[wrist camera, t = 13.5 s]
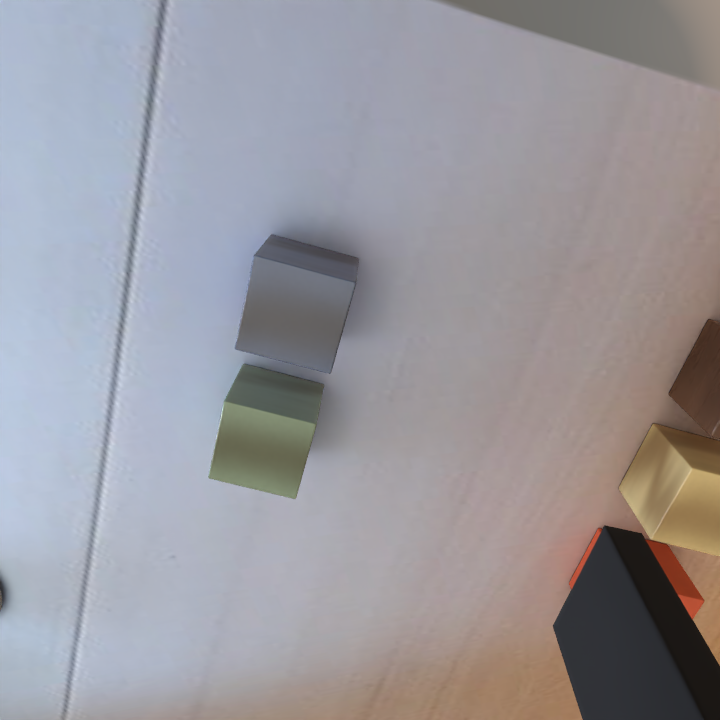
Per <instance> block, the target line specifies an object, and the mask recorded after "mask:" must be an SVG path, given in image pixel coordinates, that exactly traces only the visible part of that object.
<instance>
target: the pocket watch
mask: <svg viewBox="0 0 720 720" xmlns="http://www.w3.org/2000/svg"><path fill="white" fill-rule="evenodd" d="M1 607H2V594H1V591H0V610H1Z"/></svg>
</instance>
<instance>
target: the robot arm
mask: <svg viewBox="0 0 720 720" xmlns="http://www.w3.org/2000/svg"><path fill="white" fill-rule="evenodd" d="M553 628H554V631H555V634H556V637H557V641H558V644H559V647H560V650H561V653H562V656H563V659H564V662H565V666H566V669H567V672H568V675H569V678H570V681H571V684H572V687H573V691H574V694H575V697H576V700H577V703H578V706H579V709H580V712H581V715H582V719H583V720H720V666H719V664H718V662H717V661H716V659H715V657H714V656H713V654H712V652H711V650H710V649H709V647H708V645H707V644H706V642H705V640H704V638H703V637H702V635H701V633H700V632H699V630H698V628H697V627H696V625H695V623H694V621H693V620H692V618H691V616H690V615H689V613H688V611H687V610H686V608H685V606H684V604H683V603H682V601H681V599H680V598H679V596H678V594H677V593H676V591H675V589H674V587H673V586H672V584H671V582H670V581H669V579H668V577H667V576H666V574H665V572H664V570H663V569H662V567H661V565H660V564H659V562H658V560H657V559H656V557H655V555H654V553H653V552H652V550H651V548H650V547H649V545H648V543H647V541H646V540H645V538H644V536H643V535H642V533H637V532H633V531H628V530H623V529H619V528H614V527H609V526H605V525H604V527H603V529H602V531H601V533H600V535H599V537H598V539H597V541H596V543H595V545H594V547H593V549H592V551H591V553H590V555H589V556H588V558H587V560H586V562H585V564H584V566H583V568H582V570H581V572H580V574H579V576H578V578H577V580H576V582H575V584H574V586H573V588H572V590H571V592H570V594H569V596H568V597H567V599H566V601H565V603H564V605H563V607H562V609H561V611H560V613H559V615H558V617H557V619H556V621H555V623H554V625H553Z"/></svg>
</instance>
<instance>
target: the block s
mask: <svg viewBox="0 0 720 720" xmlns="http://www.w3.org/2000/svg"><path fill="white" fill-rule="evenodd" d="M601 531H602V529H601V528H598V530H597V532H596V534H595V535H594V537H593V539H592V541H591V543H590V545H589V547H588V549H587V551H586V552H585V554H584V556H583V558H582V560H581V562H580V564H579V566H578V568H577V569H576V571H575V573H574V575H573V577H572V579H571V581H570V583H569V585H570V587H571V590H572V588H573V586H574V584H575V582H576V580H577V578H578V576H579V574H580V572H581V570H582V568H583V566H584V564H585V562H586V560H587V558H588V556H589V555H590V553H591V551H592V549H593V547H594V545H595V543H596V541H597V539H598V537H599V535H600V533H601ZM645 540H646V539H645ZM646 541H647V543H648V545H649V547H650V548H651V550H652V552H653V553H654V555H655V557H656V559H657V560H658V562H659V564H660V565H661V567H662V569H663V570H664V572H665V574H666V576H667V577H668V579H669V581H670V582H671V584H672V586H673V587H674V589H675V591H676V593H677V594H678V596H679V598H680V599H681V601H682V603H683V604H684V606H685V608H686V610H687V611H688V613H689V615H690V616H691V618H692V619H693V618H694V616H695V615H696V613H697V612H698V610H699V609H700V607H701V606H702V604H703V603H704V599H703V598H702V596H701V595H700V593H699V592H698V590H697V589H696V587H695V586H694V584H693V583H692V581H691V580H690V578H689V577H688V575H687V574H686V572H685V571H684V569H683V567H682V566H681V564H680V563H679V561H678V560H677V558H676V557H675V555H674V554H673V552H672V551H671V549H670V548H669V546H668V545H666V544H662V543H658V542H654V541H650V540H646Z"/></svg>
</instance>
